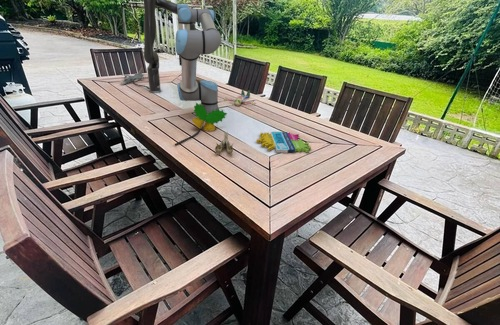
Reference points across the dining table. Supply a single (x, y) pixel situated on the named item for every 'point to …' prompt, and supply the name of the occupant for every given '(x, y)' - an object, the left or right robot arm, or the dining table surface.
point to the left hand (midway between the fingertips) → (192, 57)
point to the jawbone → (224, 145)
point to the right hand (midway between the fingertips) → (186, 64)
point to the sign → (283, 142)
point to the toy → (241, 99)
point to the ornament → (207, 117)
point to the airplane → (134, 77)
